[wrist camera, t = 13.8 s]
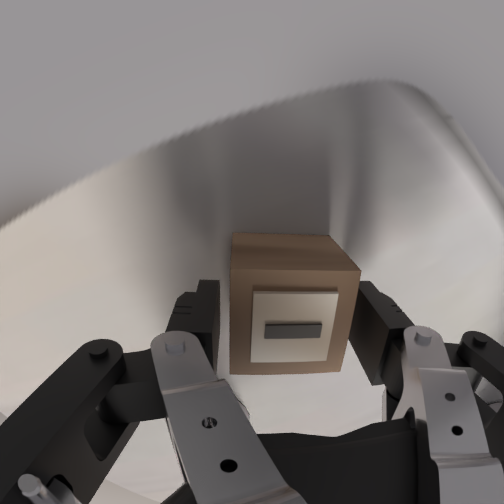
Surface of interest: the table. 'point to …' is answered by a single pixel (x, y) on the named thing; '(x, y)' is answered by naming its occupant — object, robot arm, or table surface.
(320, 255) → the walnut cube
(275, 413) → the table surface
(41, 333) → the table surface
